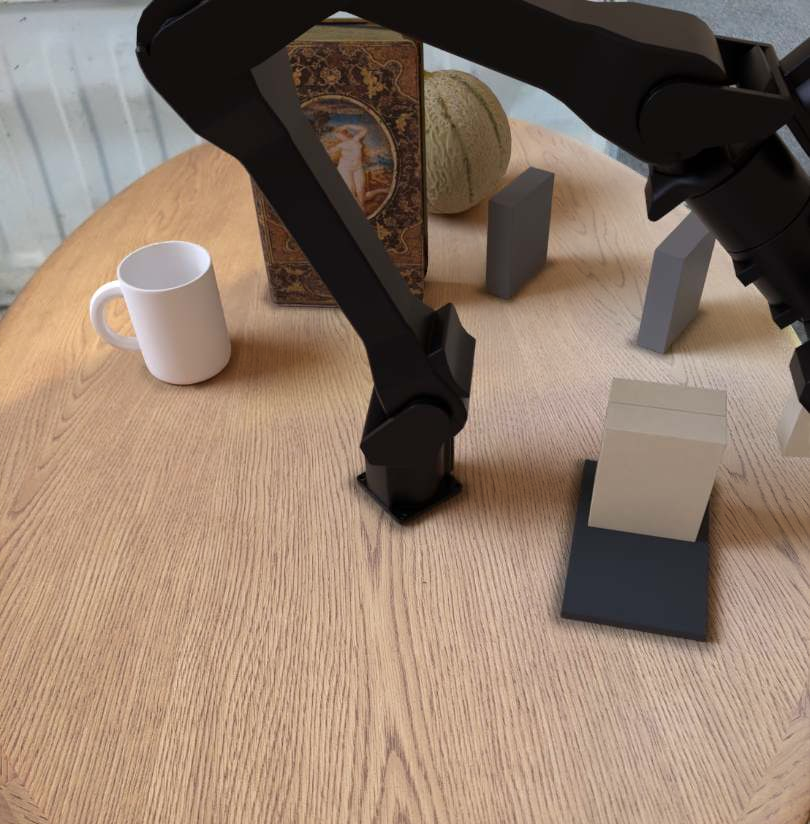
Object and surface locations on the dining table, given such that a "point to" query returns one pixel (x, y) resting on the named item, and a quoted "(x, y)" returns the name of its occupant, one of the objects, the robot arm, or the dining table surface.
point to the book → (358, 148)
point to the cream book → (794, 428)
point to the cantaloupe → (463, 141)
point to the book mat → (636, 577)
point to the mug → (169, 311)
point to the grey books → (528, 243)
